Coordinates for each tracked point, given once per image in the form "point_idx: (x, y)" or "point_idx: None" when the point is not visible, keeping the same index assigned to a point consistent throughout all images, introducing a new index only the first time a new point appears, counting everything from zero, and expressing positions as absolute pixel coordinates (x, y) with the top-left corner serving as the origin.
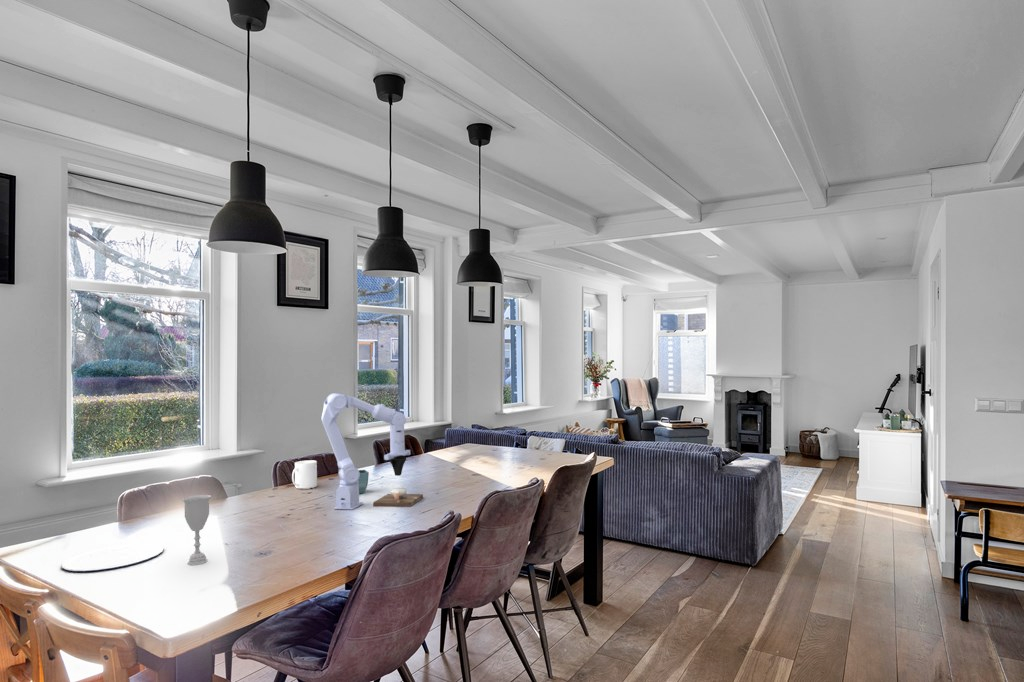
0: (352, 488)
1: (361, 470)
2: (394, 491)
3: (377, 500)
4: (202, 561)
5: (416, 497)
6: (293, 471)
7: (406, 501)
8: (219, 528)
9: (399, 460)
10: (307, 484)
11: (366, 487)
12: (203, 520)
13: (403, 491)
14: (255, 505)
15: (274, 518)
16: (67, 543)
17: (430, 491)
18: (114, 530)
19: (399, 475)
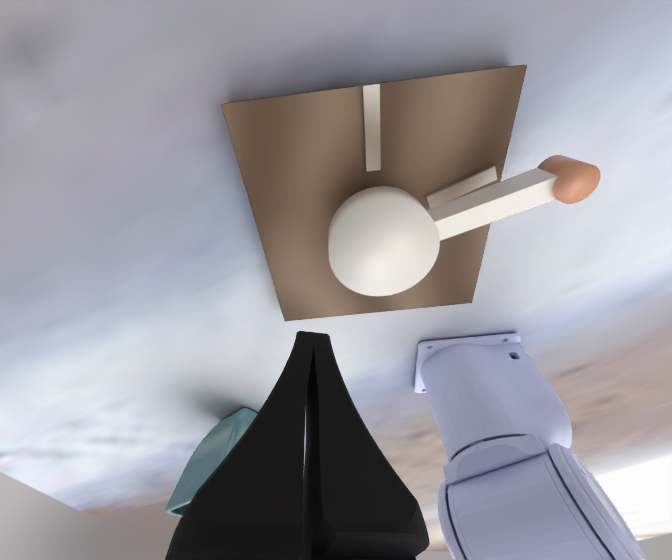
0: (537, 417)
1: (180, 513)
2: (435, 253)
3: (431, 302)
4: None
5: (340, 105)
6: None
7: (474, 123)
8: (632, 466)
9: (414, 511)
10: None
11: (238, 421)
12: None
13: (410, 199)
14: (426, 498)
15: (572, 438)
16: (635, 528)
17: (24, 149)
18: None
19: (322, 334)
